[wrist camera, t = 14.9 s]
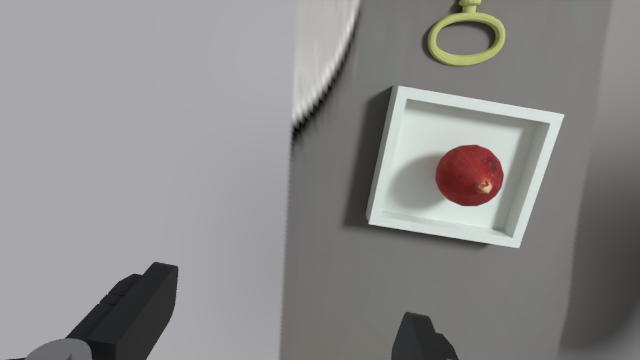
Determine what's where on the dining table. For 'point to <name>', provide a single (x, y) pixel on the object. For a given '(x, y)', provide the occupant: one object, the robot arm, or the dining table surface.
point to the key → (468, 14)
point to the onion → (469, 175)
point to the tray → (446, 134)
